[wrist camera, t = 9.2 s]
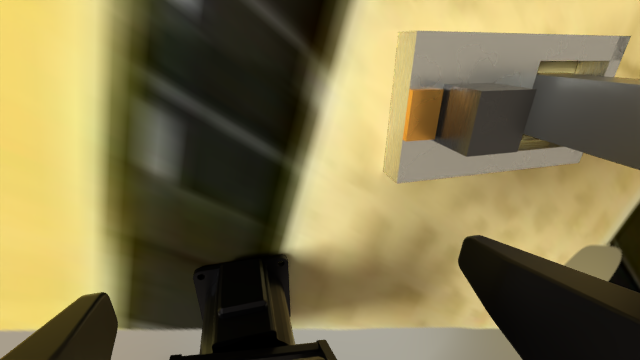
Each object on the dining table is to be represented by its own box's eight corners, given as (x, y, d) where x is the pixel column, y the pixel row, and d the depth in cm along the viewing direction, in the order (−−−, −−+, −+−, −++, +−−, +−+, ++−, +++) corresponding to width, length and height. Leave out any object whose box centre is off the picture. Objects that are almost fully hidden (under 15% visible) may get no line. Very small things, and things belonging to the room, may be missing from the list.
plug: (545, 125, 23) (704, 167, 15) (505, 128, 22) (652, 173, 15) (564, 72, 22) (752, 89, 14) (521, 72, 21) (697, 90, 13)
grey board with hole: (554, 154, 25) (623, 177, 21) (383, 171, 21) (422, 205, 17) (597, 37, 21) (692, 35, 17) (398, 32, 17) (454, 28, 13)
